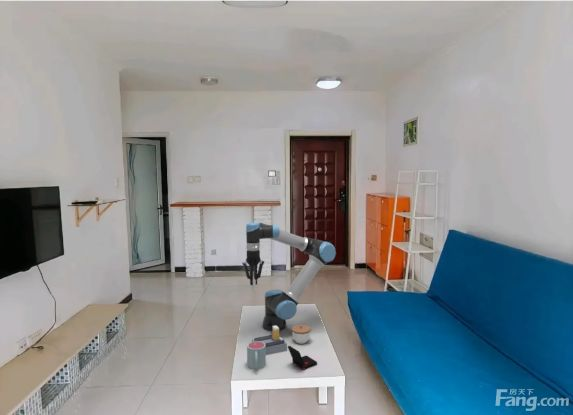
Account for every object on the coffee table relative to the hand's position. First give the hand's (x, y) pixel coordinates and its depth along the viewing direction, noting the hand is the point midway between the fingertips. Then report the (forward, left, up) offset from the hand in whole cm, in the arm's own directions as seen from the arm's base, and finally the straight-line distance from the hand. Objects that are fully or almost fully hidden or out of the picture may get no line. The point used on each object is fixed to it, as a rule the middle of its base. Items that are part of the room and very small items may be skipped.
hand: (253, 290), depth 212 cm
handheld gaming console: (-13, +37, -30) cm, 49 cm away
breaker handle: (-8, +14, -25) cm, 30 cm away
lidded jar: (-24, +13, -30) cm, 40 cm away
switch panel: (-4, +14, -29) cm, 33 cm away
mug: (+9, +30, -30) cm, 43 cm away
